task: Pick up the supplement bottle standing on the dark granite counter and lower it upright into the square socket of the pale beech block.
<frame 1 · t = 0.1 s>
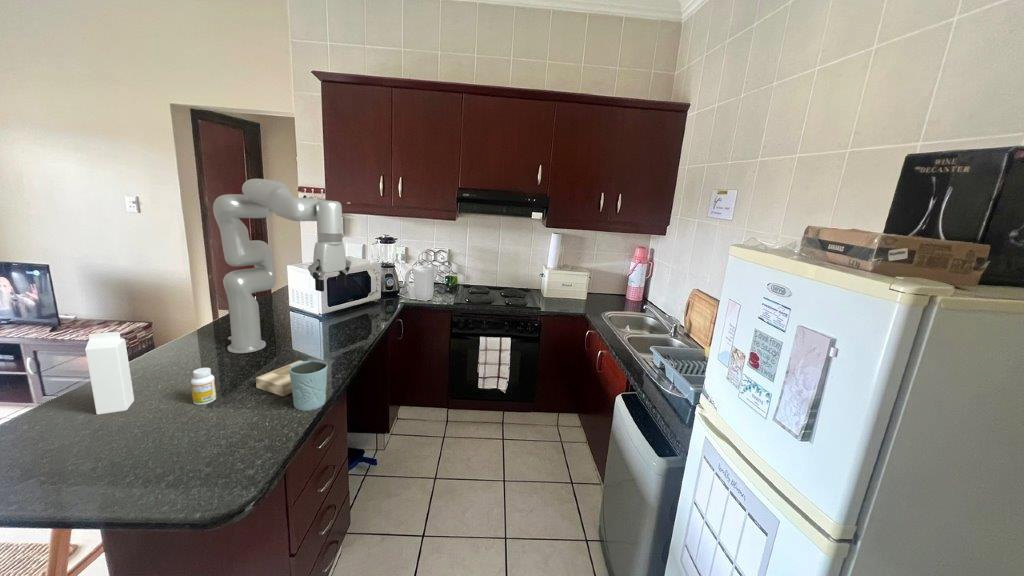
hand: (331, 288, 129), 31 cm above the countertop, fingers open, 9 cm apart
embossed blue-green cup: (310, 403, 115), on the countertop
socket block: (292, 381, 127), on the countertop
milk: (116, 408, 105), on the countertop
supplement bottle: (205, 401, 112), on the countertop
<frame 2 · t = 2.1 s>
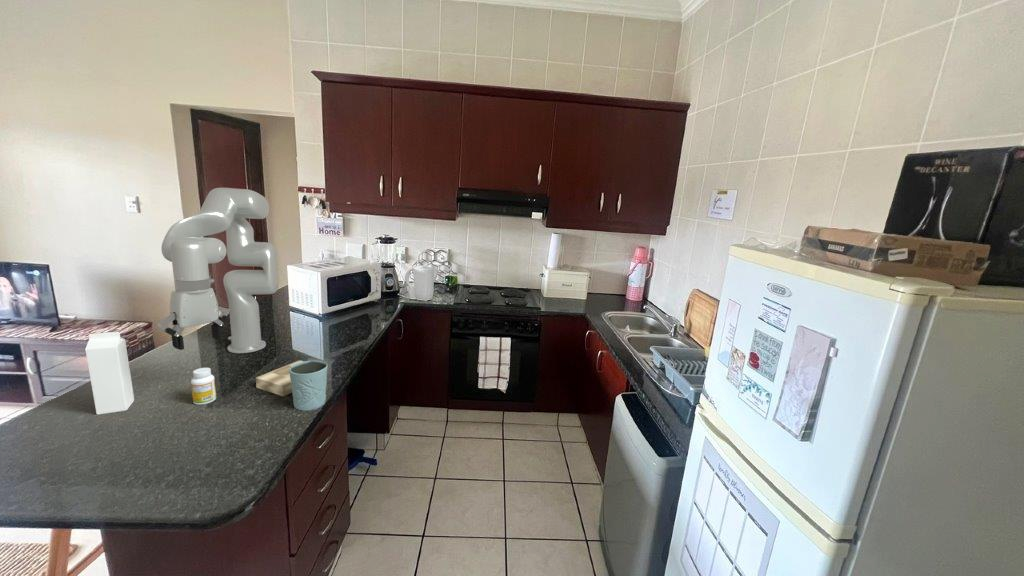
hand: (198, 343, 108), 18 cm above the countertop, fingers open, 9 cm apart
nothing on the countertop moved.
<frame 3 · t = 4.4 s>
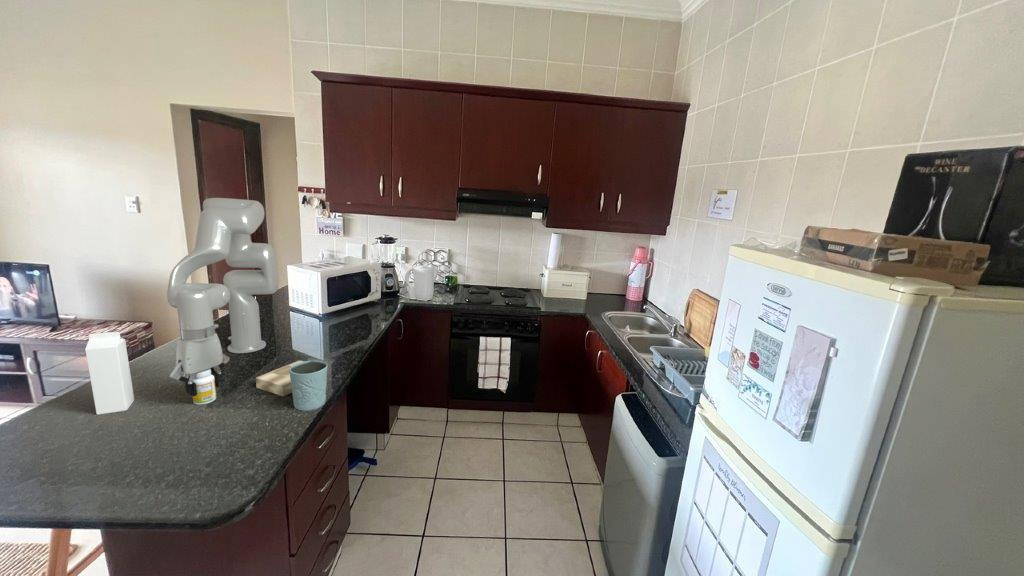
hand: (203, 389, 111), 4 cm above the countertop, fingers closed on supplement bottle, 5 cm apart
supplement bottle: (205, 401, 112), on the countertop, touching gripper
everything else where it was.
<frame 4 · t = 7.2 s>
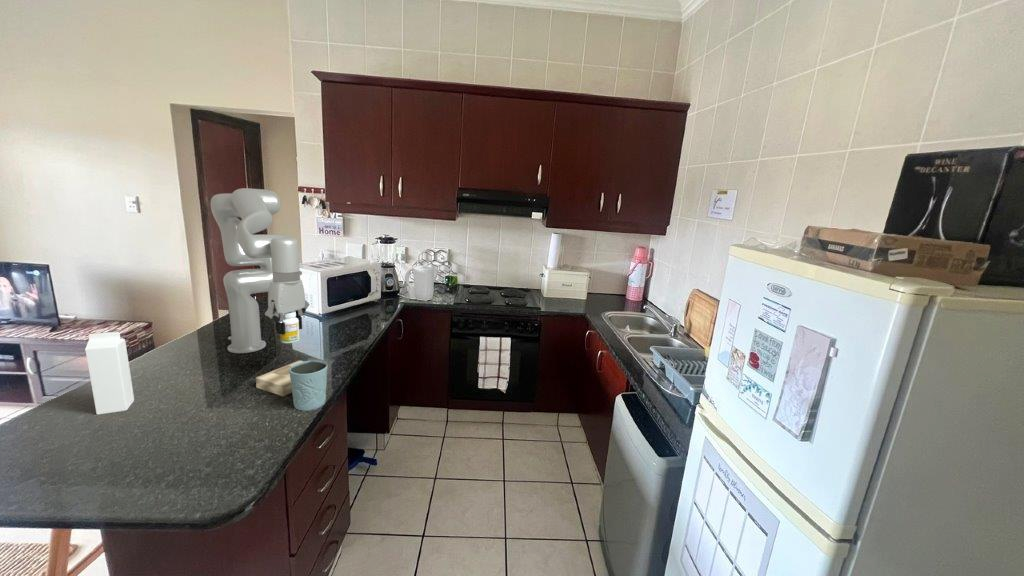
hand: (289, 330, 123), 18 cm above the countertop, fingers closed on supplement bottle, 5 cm apart
supplement bottle: (290, 341, 123), point 15 cm above the countertop, touching gripper
everything else where it was.
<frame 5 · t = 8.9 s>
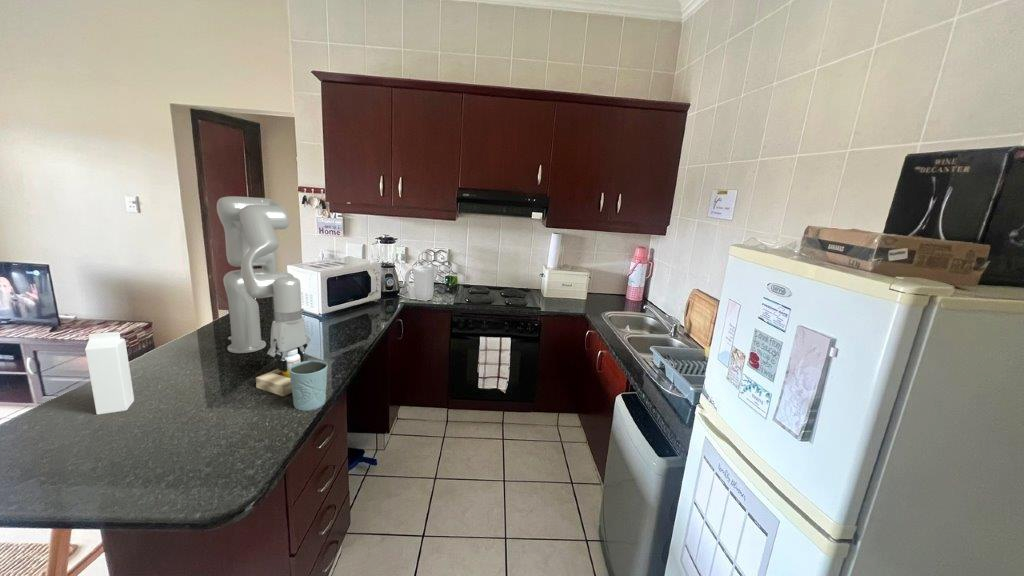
hand: (291, 366, 125), 5 cm above the countertop, fingers closed on supplement bottle, 5 cm apart
supplement bottle: (292, 377, 126), point 2 cm above the countertop, touching gripper
everything else where it was.
when the fingers open (5 cm above the countertop, at t = 10.0 s): supplement bottle drops 2 cm, resting in socket block.
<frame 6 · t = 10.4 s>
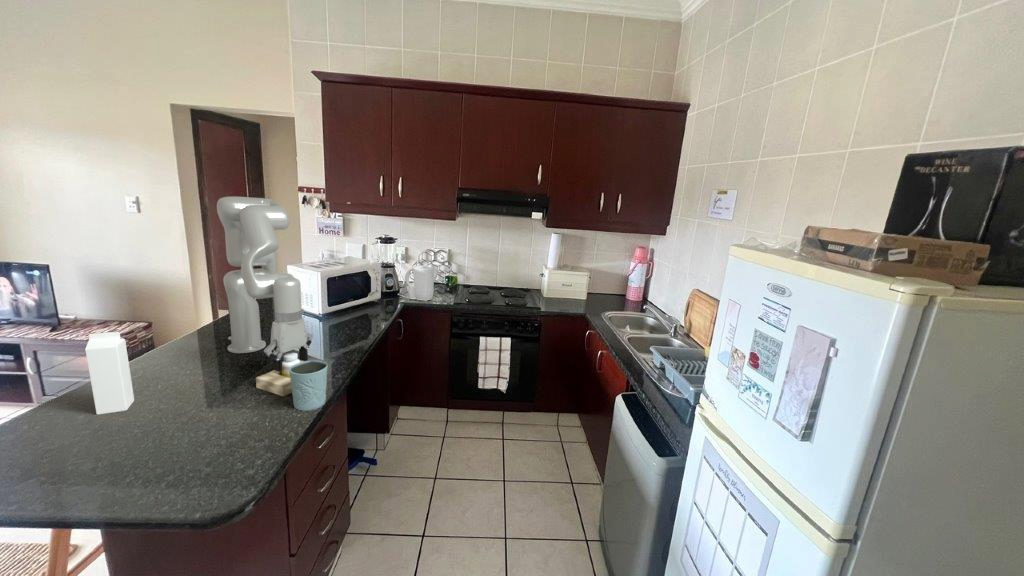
hand: (291, 365, 125), 6 cm above the countertop, fingers open, 9 cm apart
supplement bottle: (292, 382, 127), resting in socket block
everything else where it was.
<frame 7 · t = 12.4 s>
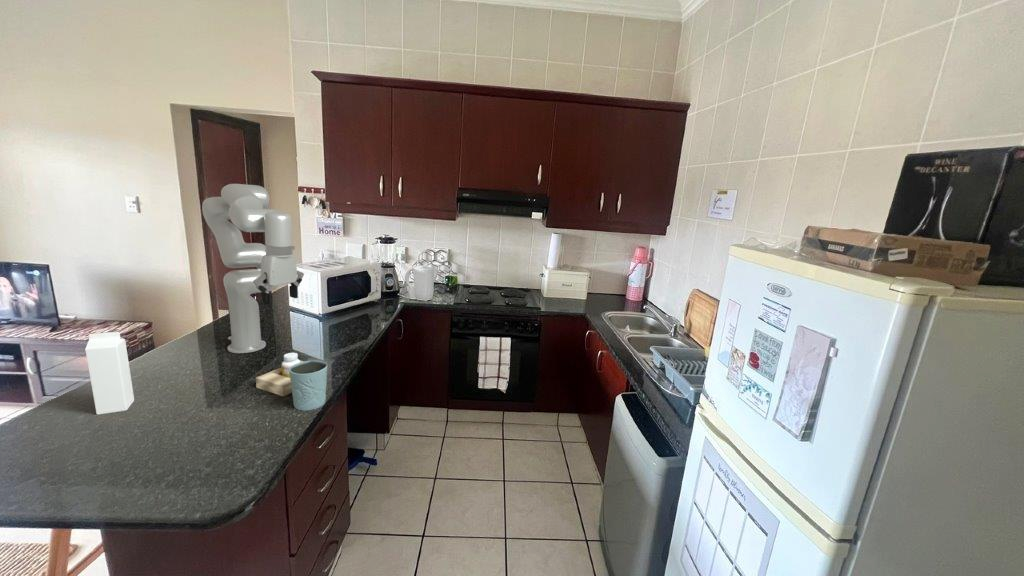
hand: (280, 300, 127), 26 cm above the countertop, fingers open, 9 cm apart
nothing on the countertop moved.
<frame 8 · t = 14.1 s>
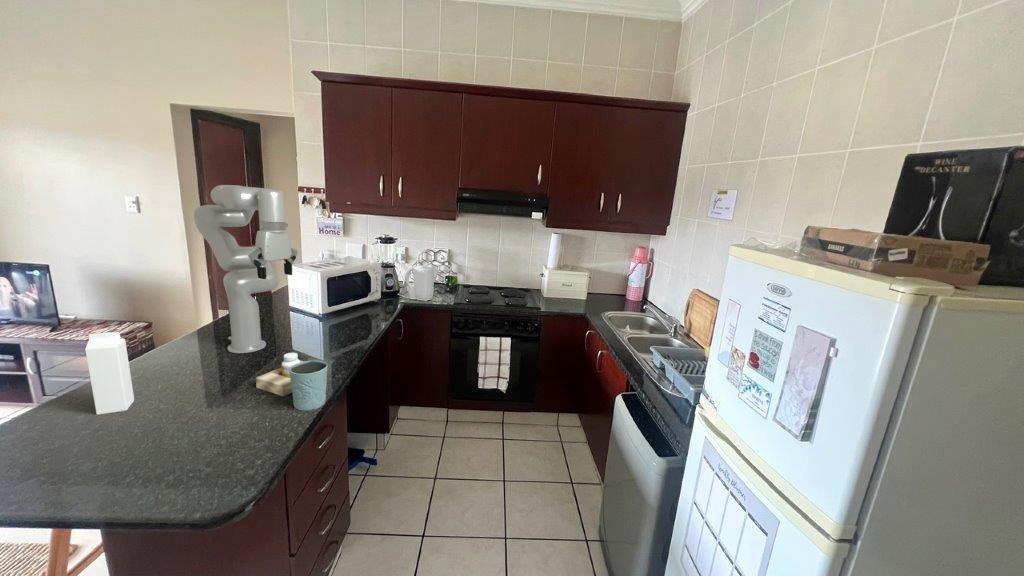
hand: (275, 276, 131), 33 cm above the countertop, fingers open, 9 cm apart
nothing on the countertop moved.
at the end: supplement bottle 0.1 cm from the socket block (horizontally); supplement bottle resting in socket block; supplement bottle tilted 0° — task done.
